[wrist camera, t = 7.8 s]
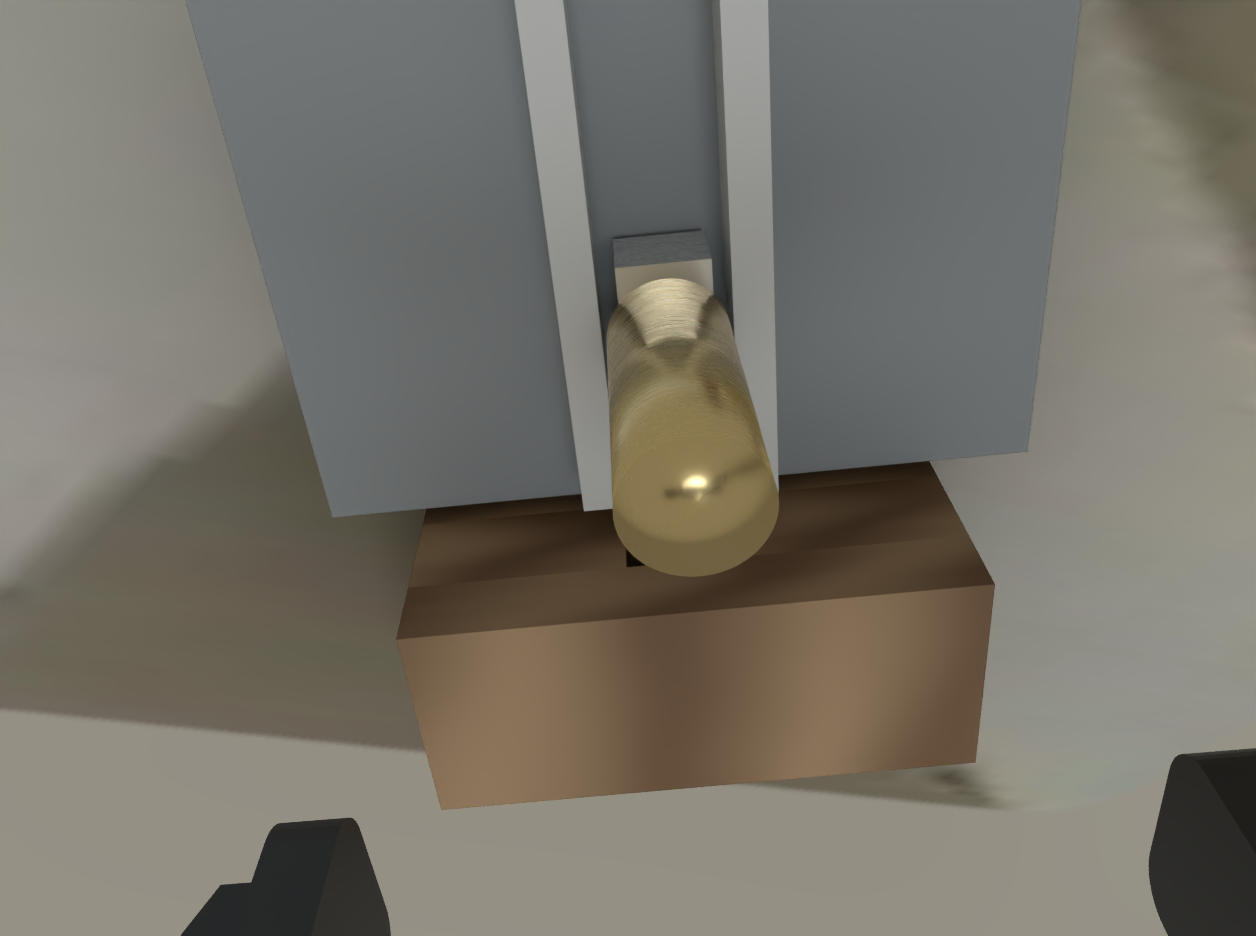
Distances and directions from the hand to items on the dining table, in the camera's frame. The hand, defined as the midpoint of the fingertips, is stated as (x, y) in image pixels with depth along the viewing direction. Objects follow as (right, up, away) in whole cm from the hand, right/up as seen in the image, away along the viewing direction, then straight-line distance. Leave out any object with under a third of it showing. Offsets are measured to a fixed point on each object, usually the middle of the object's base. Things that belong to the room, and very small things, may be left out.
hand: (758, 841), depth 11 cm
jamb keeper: (0, +2, +17) cm, 17 cm away
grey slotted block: (-1, +10, +12) cm, 16 cm away
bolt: (0, +5, +13) cm, 13 cm away
